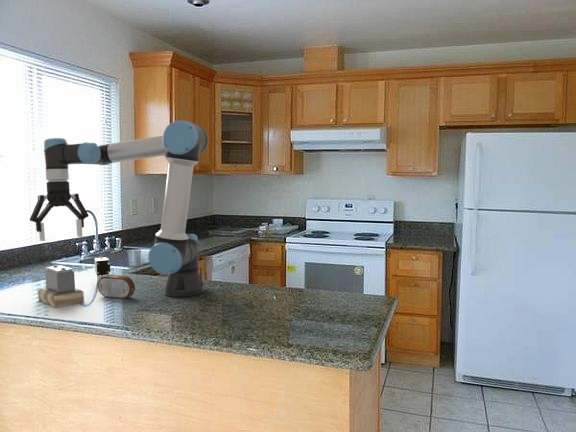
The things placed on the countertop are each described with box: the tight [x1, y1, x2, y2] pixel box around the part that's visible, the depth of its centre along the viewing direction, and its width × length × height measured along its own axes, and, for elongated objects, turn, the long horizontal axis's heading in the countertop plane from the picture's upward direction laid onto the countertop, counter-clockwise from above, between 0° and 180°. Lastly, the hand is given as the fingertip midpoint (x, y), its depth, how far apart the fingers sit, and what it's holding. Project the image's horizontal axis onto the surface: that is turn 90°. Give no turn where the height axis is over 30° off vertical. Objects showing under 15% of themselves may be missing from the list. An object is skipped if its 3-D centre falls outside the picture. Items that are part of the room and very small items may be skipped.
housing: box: [44, 264, 76, 293], centre depth 177 cm, size 6×12×9 cm, turn 45°
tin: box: [97, 274, 136, 299], centre depth 182 cm, size 15×3×8 cm, turn 72°
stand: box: [37, 287, 85, 309], centre depth 178 cm, size 16×10×4 cm, turn 47°
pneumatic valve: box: [93, 256, 111, 282], centre depth 206 cm, size 6×12×12 cm, turn 27°
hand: (61, 238), depth 178 cm, fingers open, 13 cm apart
